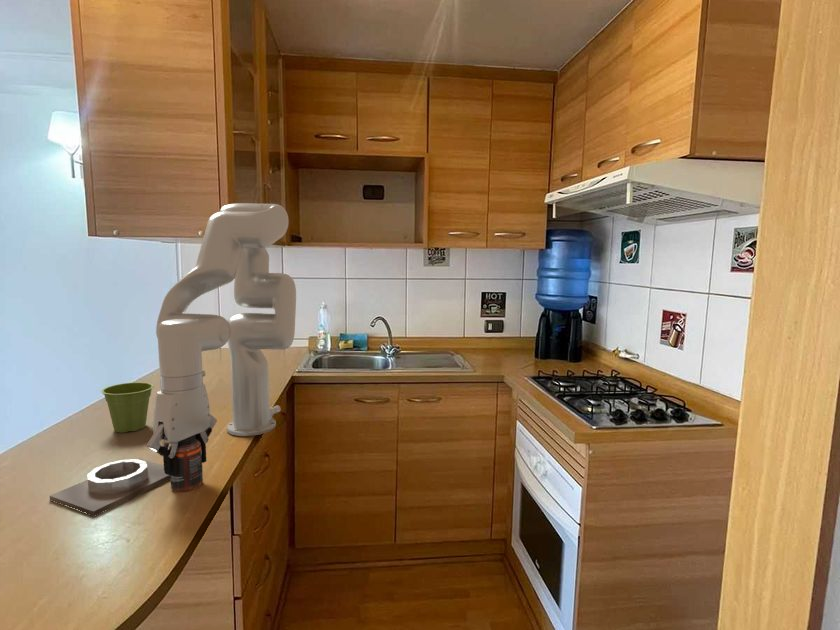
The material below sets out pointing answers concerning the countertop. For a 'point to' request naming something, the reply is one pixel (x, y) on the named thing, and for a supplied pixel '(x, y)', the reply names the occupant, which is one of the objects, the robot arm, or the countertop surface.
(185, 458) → the supplement bottle
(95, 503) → the holder board
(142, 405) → the plant pot
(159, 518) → the countertop surface
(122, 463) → the steel collar
